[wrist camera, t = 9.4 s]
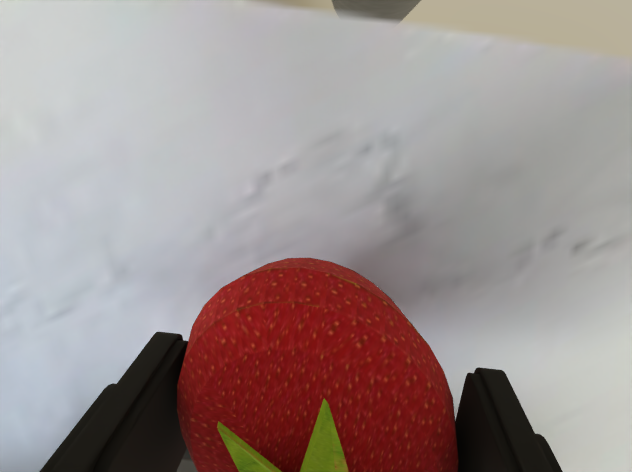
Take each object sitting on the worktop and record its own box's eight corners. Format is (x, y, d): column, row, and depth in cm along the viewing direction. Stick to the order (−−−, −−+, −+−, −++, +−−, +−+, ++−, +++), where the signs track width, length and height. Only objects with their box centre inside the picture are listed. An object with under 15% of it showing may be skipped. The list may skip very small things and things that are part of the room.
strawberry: (369, 165, 13) (399, 381, 4) (453, 359, 16) (597, 789, 6) (204, 238, 15) (-55, 526, 5) (302, 407, 17) (237, 822, 8)
